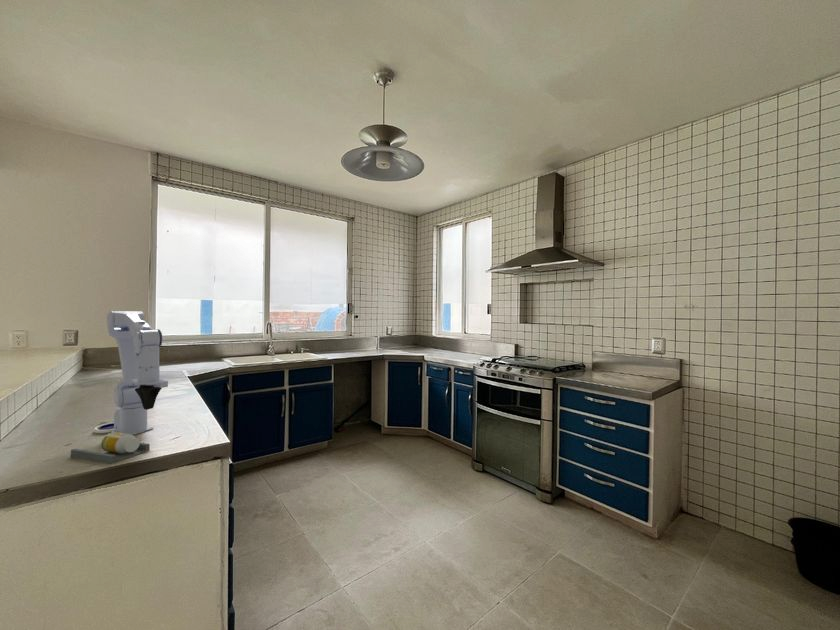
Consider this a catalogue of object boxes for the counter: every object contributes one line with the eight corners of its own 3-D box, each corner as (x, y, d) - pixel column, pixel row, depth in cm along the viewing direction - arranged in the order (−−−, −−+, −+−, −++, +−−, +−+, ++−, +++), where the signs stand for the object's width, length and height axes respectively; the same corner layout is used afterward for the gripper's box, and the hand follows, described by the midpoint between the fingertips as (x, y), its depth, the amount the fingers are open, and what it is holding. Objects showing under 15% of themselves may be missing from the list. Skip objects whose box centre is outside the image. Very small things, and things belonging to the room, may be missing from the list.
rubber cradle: (70, 456, 100) (70, 449, 100) (110, 444, 110) (110, 438, 110) (111, 464, 95) (111, 456, 95) (149, 450, 105) (149, 443, 105)
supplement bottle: (115, 428, 106) (138, 431, 103) (123, 442, 108) (145, 445, 105) (96, 441, 101) (119, 444, 98) (104, 455, 103) (127, 458, 100)
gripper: (119, 367, 112) (119, 410, 112) (152, 369, 107) (152, 413, 107) (142, 365, 118) (142, 405, 118) (174, 366, 114) (174, 407, 114)
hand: (148, 408), depth 113 cm, fingers closed
